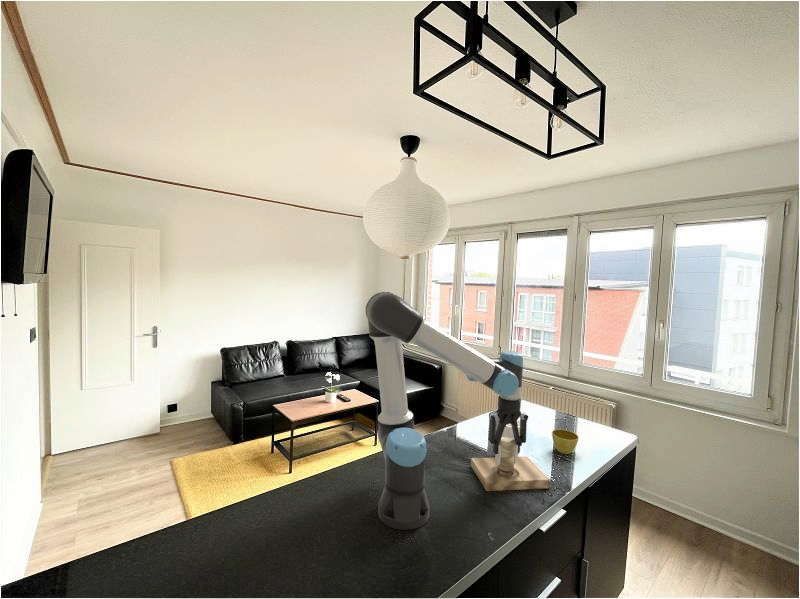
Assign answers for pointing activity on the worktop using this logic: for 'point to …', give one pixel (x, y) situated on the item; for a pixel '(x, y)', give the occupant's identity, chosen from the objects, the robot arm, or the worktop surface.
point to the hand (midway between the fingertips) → (505, 462)
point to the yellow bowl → (564, 440)
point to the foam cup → (510, 431)
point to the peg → (507, 456)
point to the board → (521, 478)
